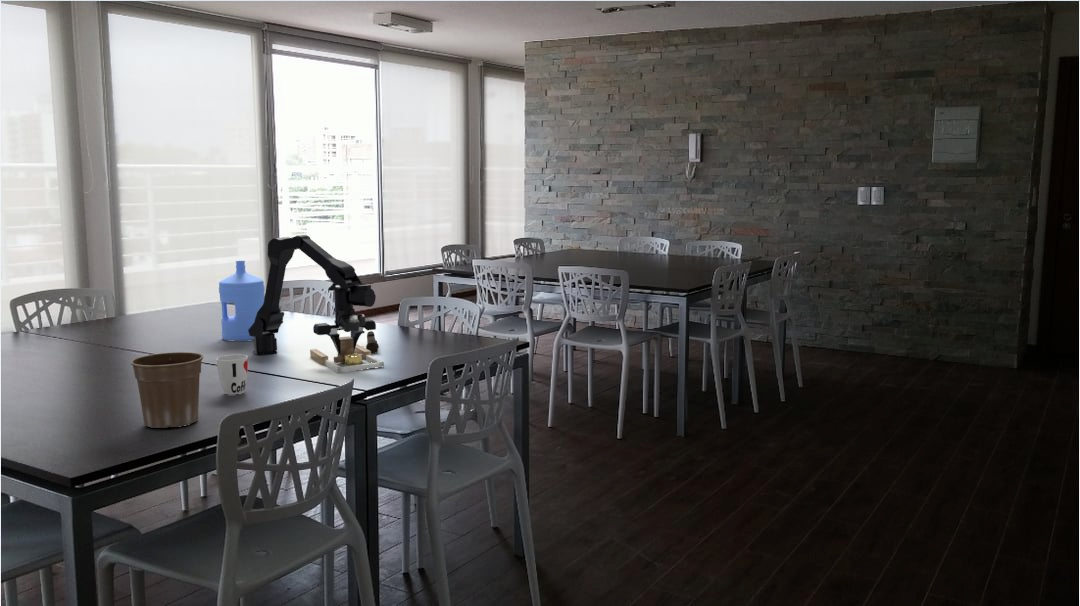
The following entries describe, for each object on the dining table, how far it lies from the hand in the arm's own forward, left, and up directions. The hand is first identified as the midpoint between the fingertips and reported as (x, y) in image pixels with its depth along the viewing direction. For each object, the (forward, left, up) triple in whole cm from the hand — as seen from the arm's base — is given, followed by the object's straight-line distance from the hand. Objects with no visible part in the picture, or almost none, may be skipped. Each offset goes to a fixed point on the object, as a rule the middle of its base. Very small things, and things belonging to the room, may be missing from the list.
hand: (345, 353), depth 284 cm
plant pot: (-58, -45, -3) cm, 73 cm away
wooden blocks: (0, +6, -3) cm, 6 cm away
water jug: (-19, +58, -3) cm, 61 cm away
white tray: (0, -8, -3) cm, 8 cm away
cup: (-39, -23, -3) cm, 45 cm away
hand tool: (+14, +17, -3) cm, 22 cm away
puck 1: (0, -5, -3) cm, 6 cm away
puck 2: (0, -9, -3) cm, 10 cm away
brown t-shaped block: (0, 0, -2) cm, 2 cm away
